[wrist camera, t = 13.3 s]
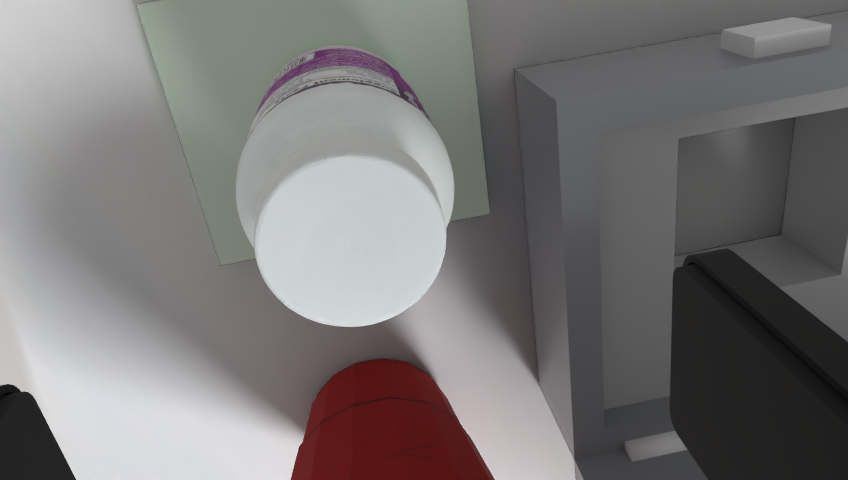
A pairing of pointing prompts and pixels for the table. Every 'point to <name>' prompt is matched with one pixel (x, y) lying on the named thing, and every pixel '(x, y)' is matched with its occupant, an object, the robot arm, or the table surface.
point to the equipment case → (666, 216)
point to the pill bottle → (344, 189)
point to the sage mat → (276, 46)
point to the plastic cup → (385, 429)
